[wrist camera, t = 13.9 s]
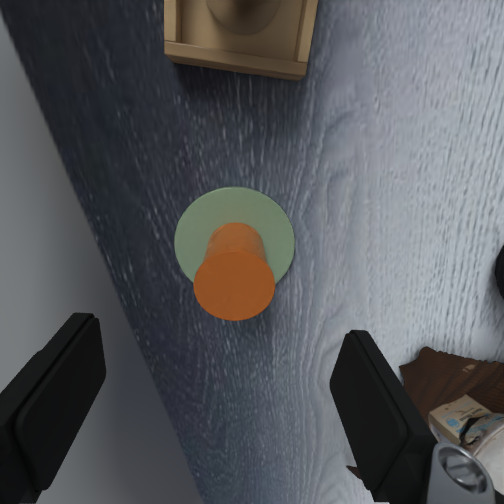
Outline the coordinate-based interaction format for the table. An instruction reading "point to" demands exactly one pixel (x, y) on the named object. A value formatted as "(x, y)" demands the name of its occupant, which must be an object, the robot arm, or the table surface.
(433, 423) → the potted plant
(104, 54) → the table surface
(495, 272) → the coffee jar
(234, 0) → the disc
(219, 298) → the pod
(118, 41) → the table surface
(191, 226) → the coaster
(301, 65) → the pod holder
